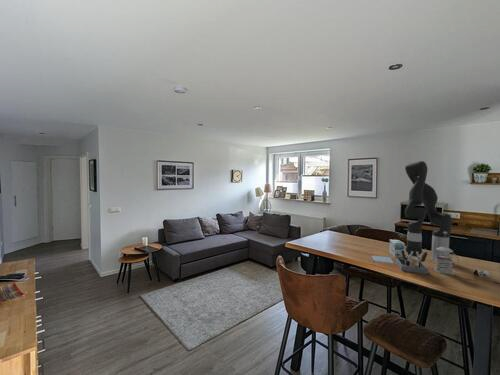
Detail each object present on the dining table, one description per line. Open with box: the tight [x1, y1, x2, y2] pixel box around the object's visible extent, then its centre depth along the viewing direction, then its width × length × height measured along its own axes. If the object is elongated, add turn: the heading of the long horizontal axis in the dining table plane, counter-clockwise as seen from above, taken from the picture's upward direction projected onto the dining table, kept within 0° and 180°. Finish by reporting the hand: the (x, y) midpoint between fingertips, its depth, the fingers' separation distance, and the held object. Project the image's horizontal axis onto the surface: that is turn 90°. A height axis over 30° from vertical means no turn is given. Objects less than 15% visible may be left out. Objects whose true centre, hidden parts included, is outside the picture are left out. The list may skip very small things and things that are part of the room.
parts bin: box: [395, 257, 429, 275], centre depth 149 cm, size 14×16×4 cm
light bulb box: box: [388, 239, 406, 258], centre depth 175 cm, size 11×7×11 cm, turn 168°
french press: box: [434, 232, 460, 276], centre depth 143 cm, size 10×12×25 cm
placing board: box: [371, 255, 394, 264], centre depth 165 cm, size 12×12×1 cm
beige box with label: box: [409, 257, 419, 267], centre depth 146 cm, size 4×4×6 cm
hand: (413, 266), depth 146 cm, fingers closed on beige box with label, 4 cm apart
